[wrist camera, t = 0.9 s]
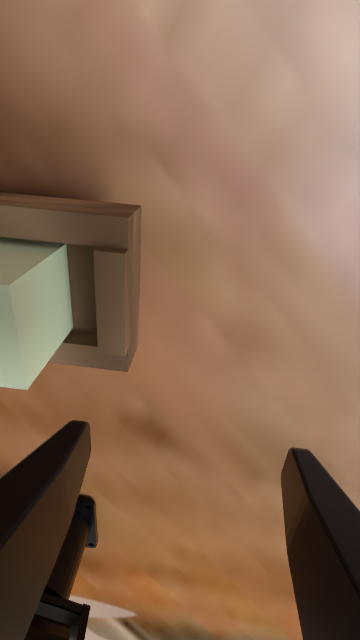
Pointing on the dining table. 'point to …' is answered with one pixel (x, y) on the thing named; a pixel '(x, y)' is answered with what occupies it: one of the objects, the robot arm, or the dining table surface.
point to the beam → (88, 271)
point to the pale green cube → (31, 307)
